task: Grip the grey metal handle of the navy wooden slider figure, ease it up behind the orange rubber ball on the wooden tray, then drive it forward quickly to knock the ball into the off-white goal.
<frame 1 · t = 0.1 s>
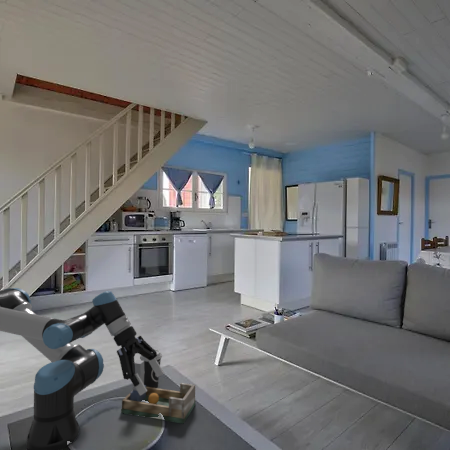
hand: (153, 383, 111), 15 cm above the table, tool tilted 35°, fingers open, 13 cm apart
ball: (153, 398, 123), point 3 cm above the table, touching wooden tray
coffee cup: (150, 386, 140), on the table
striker: (138, 381, 125), point 9 cm above the table, slide at 0.0 cm
wooden tray: (159, 408, 123), on the table
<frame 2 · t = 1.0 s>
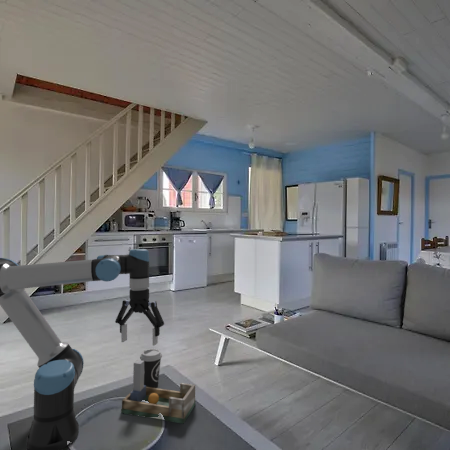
hand: (139, 342, 125), 25 cm above the table, tool pointing down, fingers open, 13 cm apart
nothing on the table moved.
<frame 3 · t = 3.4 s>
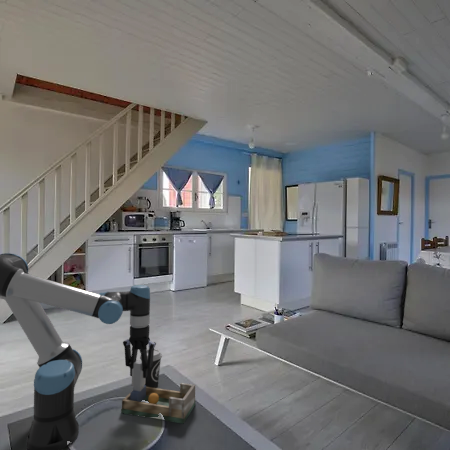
hand: (138, 384, 125), 8 cm above the table, tool pointing down, fingers closed on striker, 3 cm apart
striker: (138, 381, 125), point 9 cm above the table, slide at 0.0 cm, touching gripper
everything else where it was.
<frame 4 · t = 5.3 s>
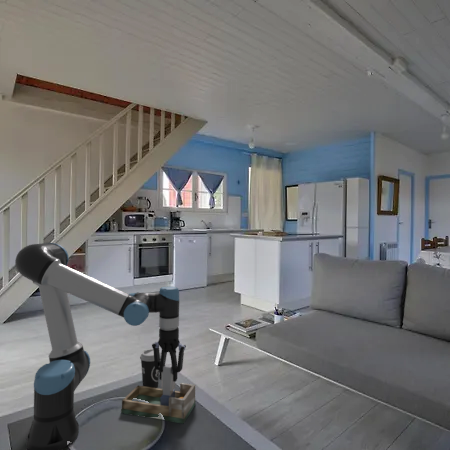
hand: (168, 388, 122), 8 cm above the table, tool pointing down, fingers closed on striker, 3 cm apart
ball: (181, 402, 121), point 3 cm above the table, tilted 40°, touching wooden tray
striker: (168, 385, 122), point 9 cm above the table, slide at 12.5 cm, touching gripper
everything else where it was.
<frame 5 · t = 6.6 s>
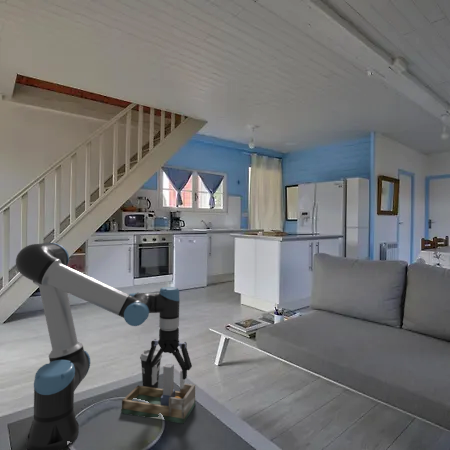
hand: (168, 385, 122), 9 cm above the table, tool pointing down, fingers open, 11 cm apart
ball: (176, 402, 121), point 3 cm above the table, tilted 95°, touching wooden tray
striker: (168, 385, 122), point 9 cm above the table, slide at 12.6 cm
everything else where it was.
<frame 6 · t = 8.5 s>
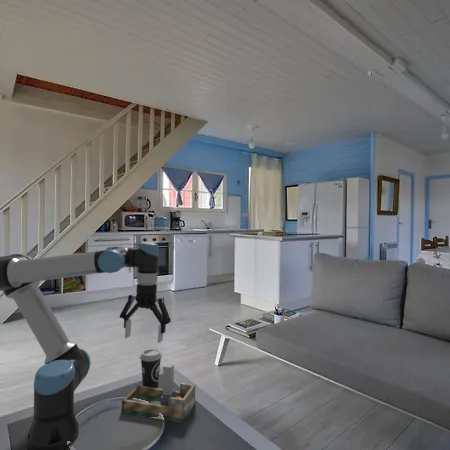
hand: (143, 339, 121), 27 cm above the table, tool pointing down, fingers open, 13 cm apart
ball: (178, 402, 121), point 3 cm above the table, tilted 79°, touching wooden tray
everything else where it was.
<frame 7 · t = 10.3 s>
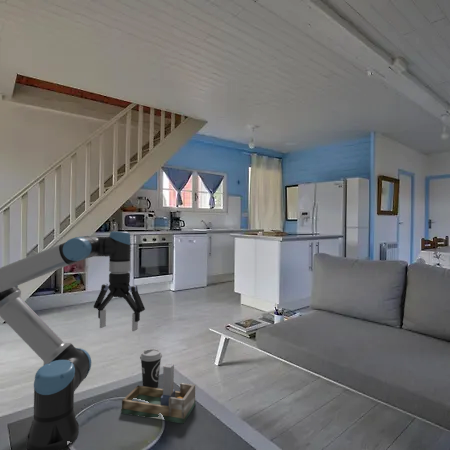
hand: (118, 328, 120), 32 cm above the table, tool pointing down, fingers open, 13 cm apart
ball: (179, 402, 121), point 3 cm above the table, tilted 64°, touching wooden tray
everything else where it was.
at the end: ball inside the target area on the wooden tray (1.2 cm from its centre), point 3.5 cm above the wooden tray's base; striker slide at 12.6 cm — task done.
